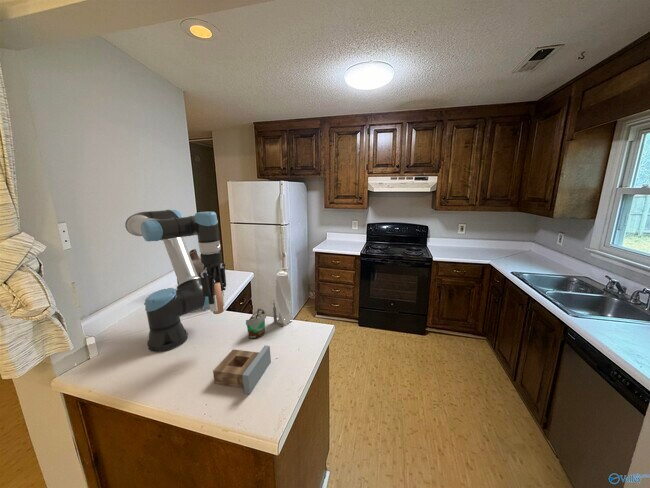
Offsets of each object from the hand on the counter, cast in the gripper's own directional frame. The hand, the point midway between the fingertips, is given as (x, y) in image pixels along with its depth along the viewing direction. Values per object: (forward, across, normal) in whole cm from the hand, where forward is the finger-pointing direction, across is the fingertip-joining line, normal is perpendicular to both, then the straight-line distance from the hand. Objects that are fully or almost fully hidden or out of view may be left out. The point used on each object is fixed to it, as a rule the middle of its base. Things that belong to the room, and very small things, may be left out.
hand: (217, 308), depth 105 cm
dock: (+19, -13, -12) cm, 26 cm away
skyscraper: (+19, +27, -17) cm, 37 cm away
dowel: (+2, 0, 0) cm, 2 cm away
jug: (+18, +53, +54) cm, 78 cm away
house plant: (+19, +35, +31) cm, 50 cm away
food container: (+19, +14, -10) cm, 25 cm away
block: (+18, -13, -16) cm, 27 cm away
